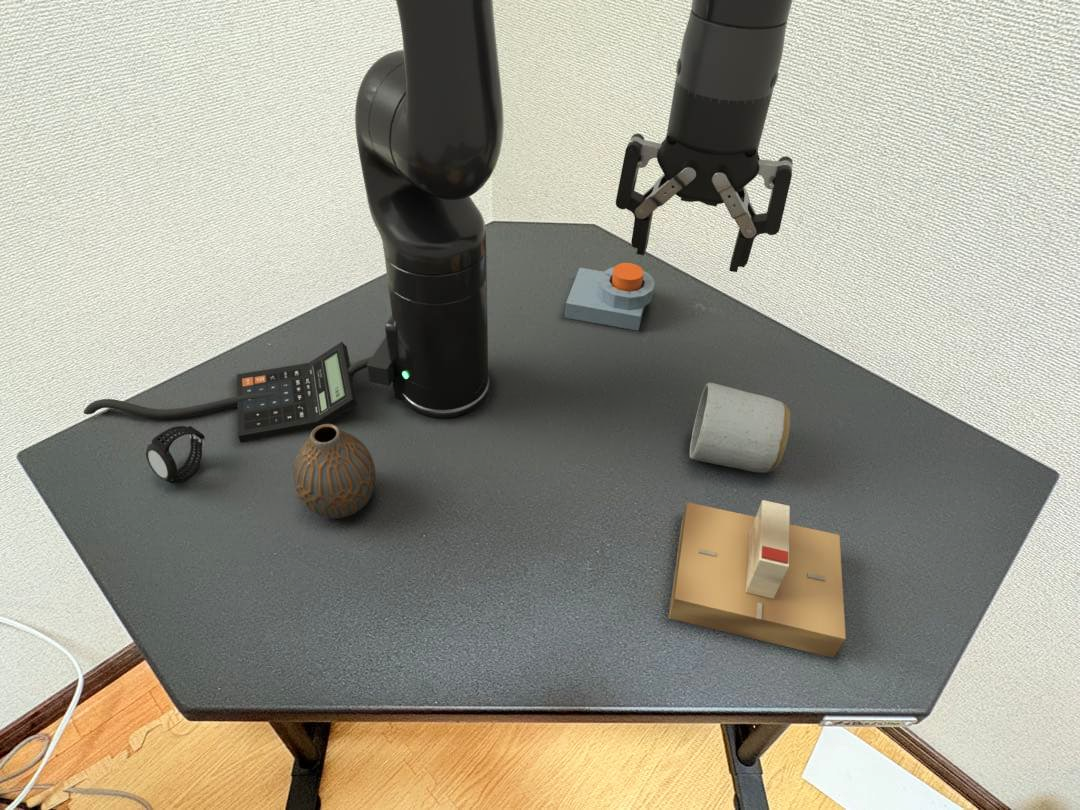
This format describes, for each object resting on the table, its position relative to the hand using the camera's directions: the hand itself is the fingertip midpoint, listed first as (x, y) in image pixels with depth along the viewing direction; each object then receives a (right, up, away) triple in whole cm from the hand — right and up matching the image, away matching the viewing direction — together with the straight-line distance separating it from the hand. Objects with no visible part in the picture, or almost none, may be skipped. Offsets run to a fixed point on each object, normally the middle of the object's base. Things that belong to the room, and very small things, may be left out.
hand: (687, 258), depth 67 cm
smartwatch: (-47, -20, +1) cm, 51 cm away
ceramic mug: (+5, -18, +6) cm, 19 cm away
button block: (-5, -1, +22) cm, 23 cm away
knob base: (+4, -29, -6) cm, 30 cm away
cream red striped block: (+4, -27, -8) cm, 28 cm away
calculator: (-39, -13, +8) cm, 42 cm away
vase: (-32, -22, -1) cm, 39 cm away
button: (-3, +1, +20) cm, 20 cm away
